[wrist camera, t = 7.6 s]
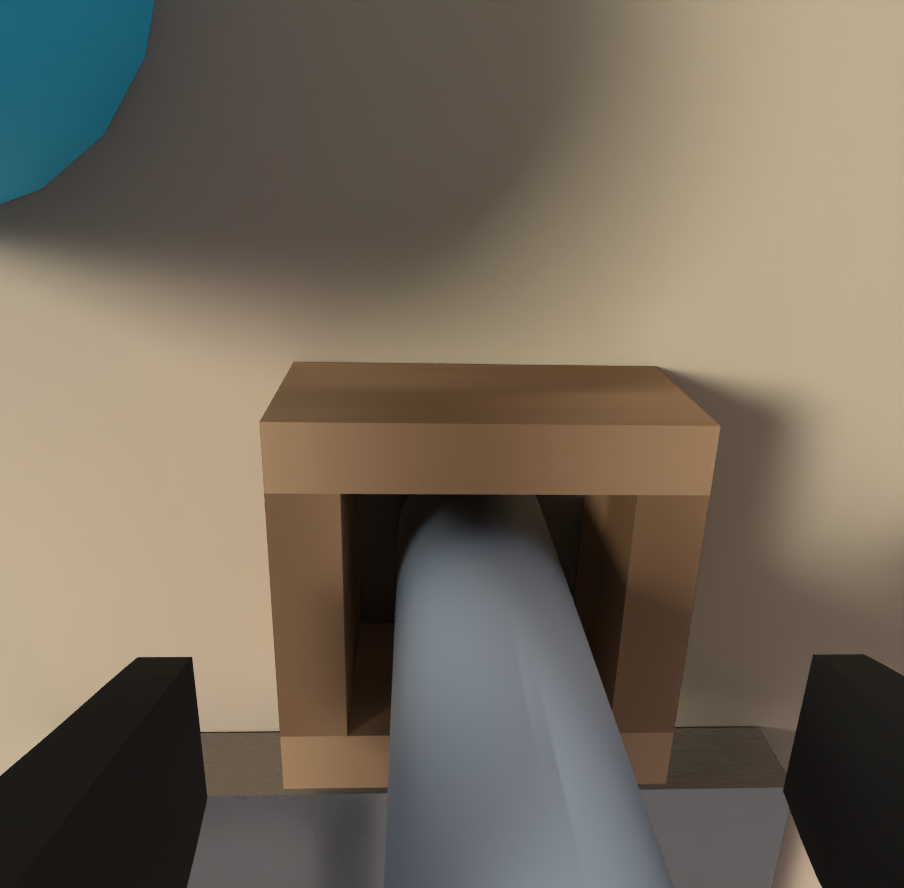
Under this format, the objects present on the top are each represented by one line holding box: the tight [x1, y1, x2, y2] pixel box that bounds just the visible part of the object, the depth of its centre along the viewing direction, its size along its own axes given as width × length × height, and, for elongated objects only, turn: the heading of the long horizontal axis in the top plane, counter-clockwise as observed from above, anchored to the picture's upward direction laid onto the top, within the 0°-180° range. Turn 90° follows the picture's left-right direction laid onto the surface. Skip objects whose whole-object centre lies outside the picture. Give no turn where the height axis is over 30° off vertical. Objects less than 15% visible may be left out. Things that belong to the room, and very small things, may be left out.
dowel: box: [383, 494, 674, 888], centre depth 10 cm, size 3×3×9 cm
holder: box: [260, 362, 721, 789], centre depth 13 cm, size 6×6×3 cm
